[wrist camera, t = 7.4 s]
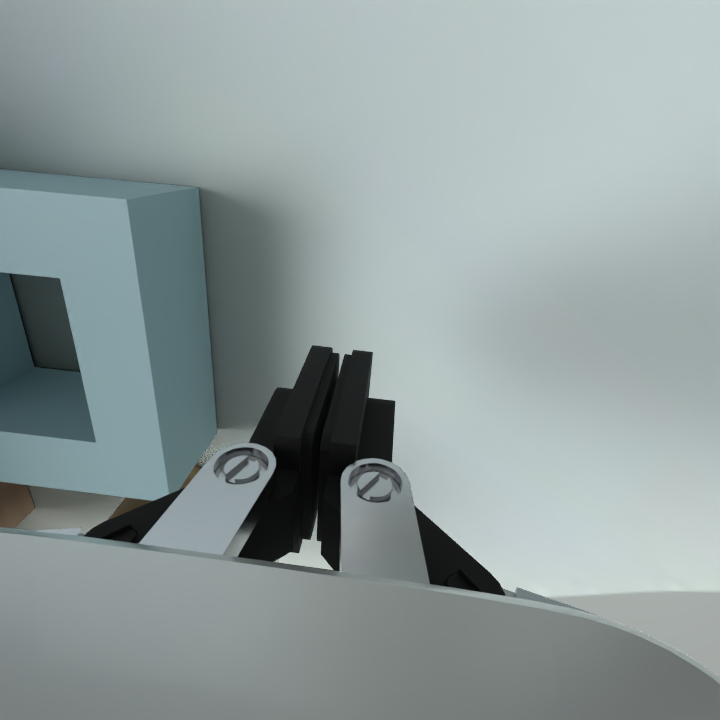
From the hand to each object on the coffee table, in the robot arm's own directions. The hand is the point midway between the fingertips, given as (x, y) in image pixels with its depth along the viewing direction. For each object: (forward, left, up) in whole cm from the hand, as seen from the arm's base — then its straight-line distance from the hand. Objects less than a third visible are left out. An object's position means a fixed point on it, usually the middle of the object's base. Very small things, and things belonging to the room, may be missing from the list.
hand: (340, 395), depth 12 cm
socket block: (+1, -13, -8) cm, 15 cm away
